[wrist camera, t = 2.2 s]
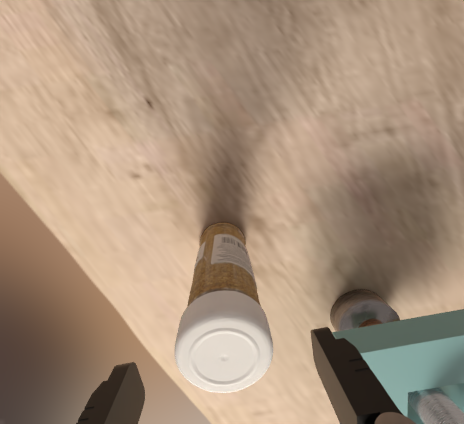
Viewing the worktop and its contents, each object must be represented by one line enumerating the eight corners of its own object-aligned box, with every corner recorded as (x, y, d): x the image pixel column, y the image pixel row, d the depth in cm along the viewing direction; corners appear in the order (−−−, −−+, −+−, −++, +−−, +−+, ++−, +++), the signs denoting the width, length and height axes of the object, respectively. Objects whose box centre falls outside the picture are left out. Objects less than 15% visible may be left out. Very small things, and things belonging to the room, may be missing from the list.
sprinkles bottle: (190, 241, 23) (150, 357, 10) (225, 211, 23) (228, 294, 10) (221, 272, 24) (220, 413, 11) (255, 244, 24) (295, 360, 11)
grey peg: (328, 294, 25) (448, 459, 12) (383, 284, 25) (567, 439, 12) (332, 340, 27) (442, 531, 13) (384, 331, 27) (547, 513, 13)
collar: (332, 332, 17) (346, 355, 15) (498, 303, 17) (534, 322, 15) (341, 448, 20) (354, 480, 18) (482, 424, 20) (510, 453, 18)
